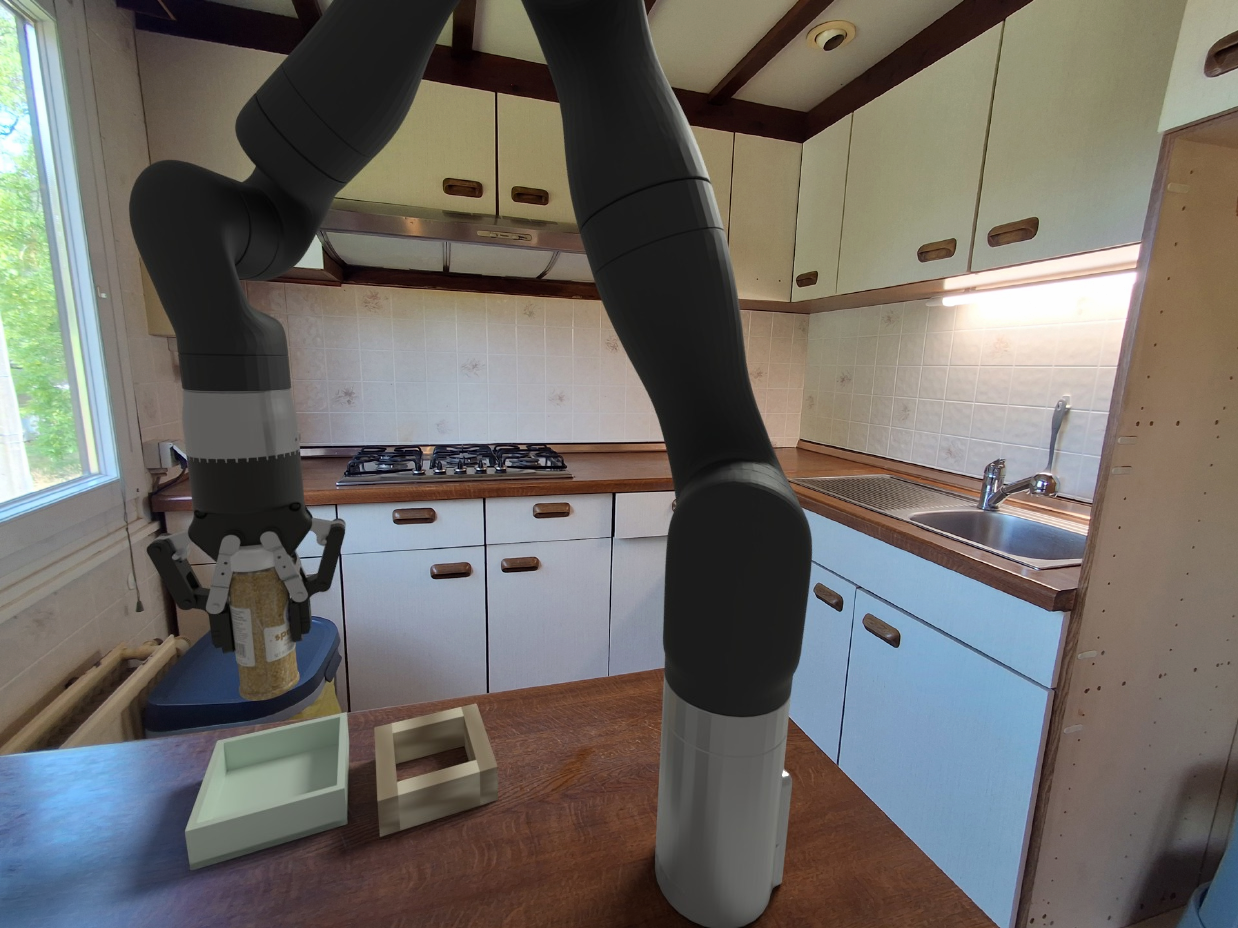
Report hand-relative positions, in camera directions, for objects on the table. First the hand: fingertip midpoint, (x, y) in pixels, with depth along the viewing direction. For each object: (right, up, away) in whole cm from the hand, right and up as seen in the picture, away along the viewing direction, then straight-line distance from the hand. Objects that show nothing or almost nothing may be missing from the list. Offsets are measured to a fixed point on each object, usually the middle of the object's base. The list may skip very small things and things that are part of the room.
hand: (265, 642), depth 47 cm
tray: (-1, -15, +3) cm, 15 cm away
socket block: (+12, -15, +6) cm, 20 cm away
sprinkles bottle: (0, -4, +1) cm, 4 cm away
